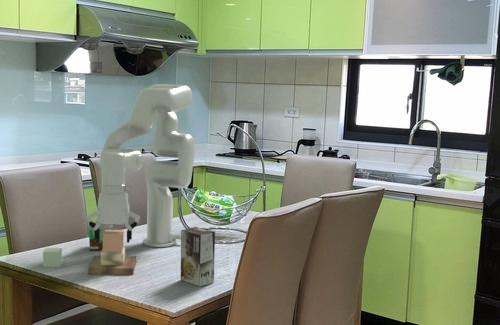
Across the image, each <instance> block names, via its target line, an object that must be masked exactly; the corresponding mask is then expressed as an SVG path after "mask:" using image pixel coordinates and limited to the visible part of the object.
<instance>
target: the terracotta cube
mask: <svg viewBox="0 0 500 325" xmlns="http://www.w3.org/2000/svg"><path fill="white" fill-rule="evenodd" d="M124 234H125V231H124V229H111V230H105V231H104V233H103V252H122V251H123V248H124V247H125V245H124V244H125V242H124V241H125V238H124V236H125V235H124Z"/></svg>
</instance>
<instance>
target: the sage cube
mask: <svg viewBox="0 0 500 325" xmlns="http://www.w3.org/2000/svg"><path fill="white" fill-rule="evenodd" d="M62 252H63V248H62V247H45V249H44V250H43V251H42V267H43V268H45V267H46V268H47V267H49V268H51V267H55V268H57V267H58V268H59V267H60V265H61V264H63V263H62V262H63V260H62V259H63V258H62V257H63V255H62V254H63V253H62Z"/></svg>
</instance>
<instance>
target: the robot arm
mask: <svg viewBox="0 0 500 325" xmlns="http://www.w3.org/2000/svg"><path fill="white" fill-rule="evenodd" d="M192 101H193V93H192V89H191V88H190V87H189V86H188V85H185V84H184V85H183V84H167V83H166V84H165V83H159V84H157V83H156V84H152V85H149V86H148V87H146V88H143V89H141V90H140V92H139V94H138V96H137V97H136V100H135V103H134V105H133V108H132V111H131V112H130V115H129V117H128V120H127V121H126V122H123V123H122V124H121V125H119V126H118V127H117V128H116V129H114V131H112V132H111V133H110V134H109V135H108V137H107V138H106V140H105V143H104V145H103V147H102V151H101V153H100V157H99V160H100V165H101V192H100V193H99V194H98V195H99V196H98V200H97V201H98V202H97V210H96V211H94V212H91V213H90V214H88V215H86V217H85V219H86V221H87V223H88V226H89V225H90V226H91V227H92V228H93V229H94V230H95V239H96V243H98V242H99V241H100V229H99V227H100V226H101V225H113V226H124V227H126V243H127V244H128V243H130V241H131V240H132V239H133V229H135V227H137V226H138V223H139V222H140V219H141V215H139V214H137V213H135V212H133V211H131V209H130V199H129V198H130V196H129V194H128V193H127V192H128V191H131V186H128V185H127V184H126V183H127V182H126V174H127V173H135V172H138V171H140V170H141V169H142V168H143V166H144V163H145V157H144V154H143V153H142V152H141V151H140V150H138V149H133V148H123V147H122V146H123V145H124V144H126V143H127V142H129V141H131V140H135V139H136V138H140V137H143V136H145V135H148V134H149V133H150V132H151V131H152V128H153V127H154V132H153V141H152V152H153V154H154V155H155V156H157V157H159V158H169V159H178V161H170V160H152V161H150V162H149V163H147V165H146V166H145V169H144V177H145V183H146V187H147V188H146V189H147V190H146V191H147V192H146V193H147V199H146V200H147V204H146V206H147V208H146V210H147V212H146V219H147V220H146V237H145V238H144V239H142V244H143V245H144V246H147V247H151V248H167V247H172V246H174V245H176V244H177V240H181V233H175V232H174V230H173V221H174V220H173V218H174V216H173V213H174V211H173V210H174V198H173V194H172V192H171V190H170V188H175V189H176V188H177V189H185V188H187V187H188V186H189V185H190V184H191V182H192V177H193V170H194V169H193V168H194V162H195V161H194V160H195V151H196V150H195V149H196V146H195V145H196V144H195V140H194V138H193V136H192V135H191V134H188V133H183V132H182V133H181V132H178V128H179V127H178V126H179V119H178V116H177V114H176V112H179V111H182V110H185V109H187V108H188V107H189V106H190V105H191V104H192ZM154 123H155V124H154ZM92 218H96V222H97V224H95V223H96V222H94V220H92ZM130 218H133V219H134V221H133V222H132V223H131V222H130Z"/></svg>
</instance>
